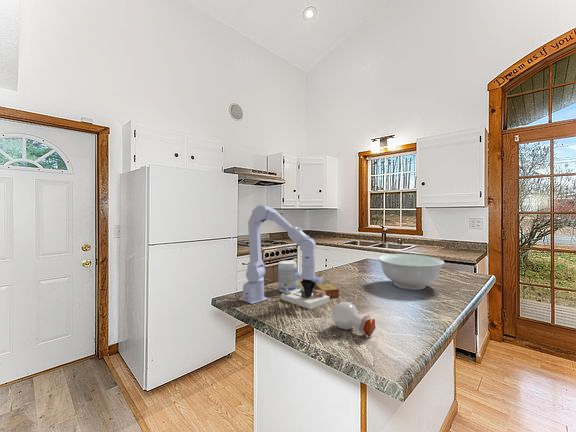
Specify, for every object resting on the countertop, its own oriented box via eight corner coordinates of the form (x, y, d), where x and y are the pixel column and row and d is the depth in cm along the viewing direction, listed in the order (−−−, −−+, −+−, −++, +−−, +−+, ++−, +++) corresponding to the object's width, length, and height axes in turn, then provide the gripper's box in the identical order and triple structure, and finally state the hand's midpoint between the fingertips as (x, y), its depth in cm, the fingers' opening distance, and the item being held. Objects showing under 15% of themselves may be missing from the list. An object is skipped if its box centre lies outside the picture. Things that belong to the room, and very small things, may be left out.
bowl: (457, 295, 137) (458, 264, 136) (389, 295, 137) (389, 265, 137) (426, 278, 169) (426, 253, 168) (371, 278, 169) (371, 253, 169)
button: (303, 292, 135) (303, 287, 134) (299, 290, 137) (299, 286, 137) (307, 290, 136) (307, 286, 136) (303, 289, 138) (303, 285, 138)
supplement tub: (298, 292, 143) (298, 263, 142) (279, 293, 141) (279, 264, 141) (295, 287, 152) (295, 260, 152) (277, 288, 151) (277, 260, 150)
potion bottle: (335, 326, 106) (370, 345, 95) (322, 317, 100) (359, 336, 89) (345, 303, 109) (381, 319, 98) (334, 293, 103) (370, 309, 92)
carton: (322, 299, 134) (322, 290, 134) (313, 289, 150) (313, 281, 149) (339, 297, 135) (339, 288, 135) (328, 288, 151) (328, 280, 151)
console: (310, 309, 120) (309, 298, 120) (281, 299, 133) (281, 290, 133) (329, 301, 129) (329, 292, 129) (301, 293, 142) (300, 284, 142)
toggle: (287, 291, 132) (285, 283, 133) (285, 291, 133) (283, 283, 134) (289, 290, 133) (287, 282, 134) (287, 290, 134) (285, 283, 135)
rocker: (316, 294, 126) (317, 290, 126) (310, 292, 129) (311, 289, 129) (325, 294, 130) (325, 291, 130) (319, 293, 133) (319, 289, 133)
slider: (304, 298, 126) (304, 291, 126) (301, 296, 127) (301, 290, 127) (308, 296, 128) (308, 289, 128) (305, 295, 129) (304, 289, 129)
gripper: (327, 267, 123) (327, 298, 123) (302, 262, 133) (303, 291, 134) (316, 269, 118) (316, 302, 118) (291, 264, 129) (292, 294, 129)
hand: (308, 296), depth 126 cm, fingers closed
